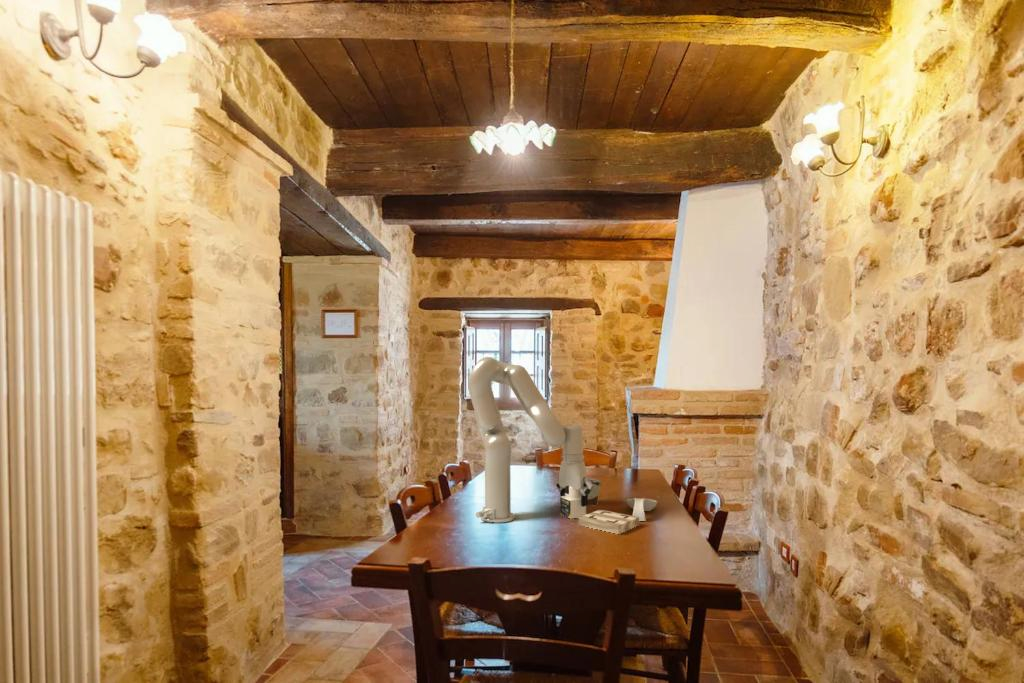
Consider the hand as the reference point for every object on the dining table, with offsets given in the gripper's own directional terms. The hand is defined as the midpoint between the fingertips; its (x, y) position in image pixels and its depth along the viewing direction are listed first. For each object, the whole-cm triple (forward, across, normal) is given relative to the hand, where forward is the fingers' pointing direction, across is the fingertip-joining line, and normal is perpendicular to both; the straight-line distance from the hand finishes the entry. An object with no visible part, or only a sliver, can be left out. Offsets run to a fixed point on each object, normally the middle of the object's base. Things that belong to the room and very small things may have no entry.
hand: (573, 503), depth 206 cm
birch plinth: (+5, +17, -2) cm, 17 cm away
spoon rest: (+5, +17, +20) cm, 27 cm away
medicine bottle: (+5, 0, 0) cm, 5 cm away
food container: (+5, -7, +19) cm, 21 cm away
